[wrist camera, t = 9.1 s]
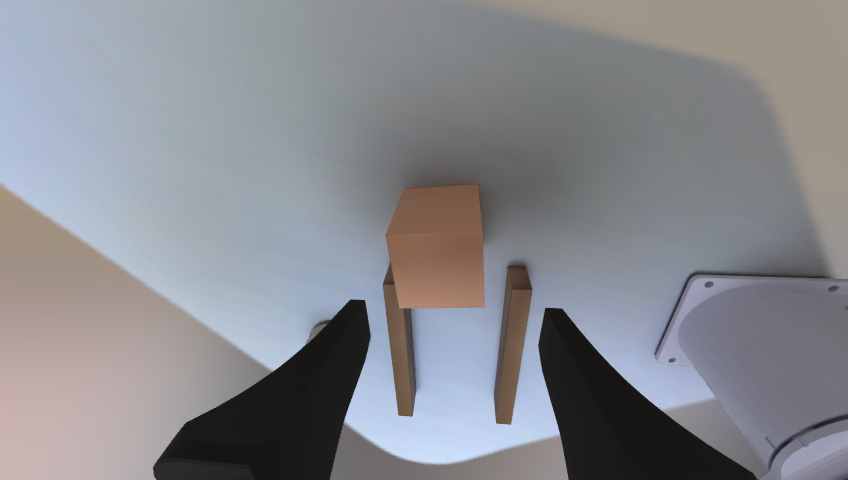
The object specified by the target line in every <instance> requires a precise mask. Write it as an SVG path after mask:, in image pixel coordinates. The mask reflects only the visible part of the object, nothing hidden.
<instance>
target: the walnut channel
mask: <svg viewBox="0 0 848 480" xmlns="http://www.w3.org/2000/svg"><path fill="white" fill-rule="evenodd" d="M383 290H384V299H385V307H386V315H387V324H388V332H389V340H390V348H391V357H392V365H393V373H394V382H395V390H396V398H397V406H398V415H399V416H411V417H412V416H413V409H414V402H415V395H416V381H415V367H414V354H413V340H412V326H411V313H410V308H399V304H398V298H397V293H396V288H395V282H394V277H393V272H392V266H391V263H390V265H389V268H388V271H387V274H386V277H385V280H384V282H383ZM531 296H532V287H531V283H530V280H529V276H528V273H527V269H526V267H508V271H507V280H506V290H505V299H504V308H503V317H502V326H501V336H500V345H499V354H498V363H497V372H496V382H495V391H494V403H495V416H496V423H498V424H510V425H511V421H512V415H513V408H514V402H515V396H516V390H517V383H518V377H519V371H520V365H521V358H522V352H523V346H524V339H525V333H526V327H527V321H528V314H529V308H530V302H531Z"/></svg>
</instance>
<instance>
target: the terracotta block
mask: <svg viewBox="0 0 848 480" xmlns="http://www.w3.org/2000/svg"><path fill="white" fill-rule="evenodd" d="M386 240H387V245H388V250H389V256H390V261H391V266H392V272H393V277H394V282H395V288H396V293H397V298H398V304H399V308H467V307H484V270H483V231H482V220H481V209H480V199H479V188H478V184H469V185H453V186H438V187H422V188H406V189H405V190H404V192H403V195H402V197H401V200H400V202H399V204H398V207H397V209H396V212H395V214H394V216H393V219H392V221H391V223H390V226H389V228H388V231H387V233H386Z"/></svg>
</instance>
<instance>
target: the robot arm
mask: <svg viewBox="0 0 848 480" xmlns="http://www.w3.org/2000/svg"><path fill="white" fill-rule="evenodd" d="M707 282H709V283H707ZM705 283H707V284H705ZM370 337H371V335H370V328H369V322H368V316H367V309H366V303H365V300H350V301H349V302H348V303H347V304H346V305H345V306H344V307H343V308H342V309H341V310H340V311H339V312H338V313H337V314H336V315H335V316H334V318H333V319H332V320H331V321H330V322H329V323H328V324H327V325H326V326H325V327H324V328H323V329H322V330H321V331H320V332H319V333H318V334H317V335H316V336H315V337H314V338H313V339H312V340H310V341H309V342H308V343H307V344H306V345H305V346H304V347H303V348H302V349H301V350H300V351H298V352H297V353H296V354H295V355H294V356H293V357H291V358H290V359H289V360H288V361H286V362H285V363H284V364H283V365H281V366H280V367H279V368H277V369H276V370H275V371H273V372H272V373H271V374H269V375H268V376H266V377H265V378H263V379H262V380H260V381H259V382H257V383H256V384H255V385H253V386H252V387H250V388H248V389H247V390H245V391H244V392H242V393H240V394H239V395H237V396H235V397H234V398H232V399H230V400H228V401H227V402H225V403H223V404H221V405H220V406H218V407H216V408H214V409H212V410H210V411H208V412H206V413H204V414H202V415H200V416H198V417H196V418H194V419H193V420H191V421H188V422H186V423H185V424H184V426H183V427H182V428H181V429H180V431H179V432H178V433H177V435H176V436H175V437H174V439H173V440H172V441H171V443H170V444H169V446H168V447H167V448H166V450H165V451H164V452H163V454H162V455H161V457H160V458H159V459H158V460H157V462H156V463H155V465H154V467H153V471H154V477H155V478H156V480H330V476H331V471H332V467H333V463H334V459H335V454H336V450H337V446H338V442H339V438H340V434H341V430H342V426H343V423H344V419H345V416H346V413H347V410H348V407H349V404H350V401H351V399H352V396H353V393H354V390H355V388H356V385H357V382H358V379H359V377H360V374H361V371H362V368H363V365H364V362H365V359H366V355H367V351H368V347H369V342H370ZM538 347H539V354H540V360H541V366H542V371H543V375H544V379H545V382H546V386H547V389H548V393H549V396H550V400H551V403H552V407H553V410H554V414H555V417H556V421H557V424H558V428H559V432H560V436H561V440H562V445H563V450H564V456H565V461H566V466H567V473H568V478H569V480H758V479H757V478H756V477H755V476H754V474H753V473H752V472H750V471H749V470H747V469H746V468H744V467H742V466H741V465H739V464H738V463H736V462H734V461H733V460H731V459H730V458H728V457H726V456H725V455H723V454H722V453H720V452H719V451H717V450H715V449H714V448H712V447H711V446H709V445H707V444H706V443H705V442H703V441H702V440H701V439H699V438H698V437H696V436H695V435H694V434H692V433H691V432H689V431H688V430H686V429H685V428H684V427H682V426H681V425H680V424H678V423H677V422H675V421H674V420H673V419H671V418H670V417H669V416H668V415H666V414H665V413H664V412H663V411H661V410H660V409H659V408H658V407H656V406H655V405H654V404H652V403H651V402H650V401H649V400H648V399H646V398H645V397H644V396H643V395H642V394H641V393H640V392H638V391H637V390H636V389H635V388H634V387H633V386H632V385H631V384H629V383H628V382H627V381H626V380H625V379H624V378H623V377H622V376H621V375H620V374H619V373H618V372H617V371H616V370H615V369H614V368H613V367H612V366H611V365H610V364H609V363H608V362H607V361H606V360H605V359H604V358H603V357H602V356H601V354H600V353H599V352H598V351H597V350H596V349H595V348H594V347H593V345H592V344H591V343H590V342H589V341H588V340H587V339H586V337H585V336H584V335H583V334H582V333H581V331H580V330H579V329H578V328H577V327H576V325H575V324H574V323H573V322H572V320H571V319H570V318H569V317H568V315H567V314H566V313H565V312H564V310H563V309H560V308H545V313H544V318H543V323H542V328H541V334H540V339H539V344H538ZM655 358H656V360H657V361H658V362H659V363H660V364H671V365H688V366H694V367H695V369H696V370H697V371H698V373H699V374H700V376H701V377H702V378H703V380H704V381H705V383H706V384H707V385H708V387H709V388H710V390H711V391H712V392H713V394H714V395H715V397H716V398H717V399H718V401H719V402H720V404H721V405H722V406H723V408H724V409H725V411H726V412H727V413H728V415H729V416H730V418H731V419H732V420H733V422H734V423H735V425H736V426H737V427H738V429H739V430H740V432H741V433H742V434H743V436H744V437H745V439H746V440H747V441H748V443H749V444H750V446H751V447H752V448H753V450H754V451H755V453H756V454H757V455H758V457H759V458H760V460H761V461H762V462H763V464H764V465H765V467H766V468H767V470H768V471H769V473H768V474H767V475H766V476H765V477H763V478H762V479H760V480H848V279H822V278H790V277H758V276H726V275H696V276H693V277H692V278H691V279H690V280H689V282H688V284H687V286H686V289H685V291H684V293H683V295H682V298H681V300H680V302H679V304H678V307H677V309H676V311H675V313H674V316H673V318H672V320H671V322H670V325H669V327H668V329H667V331H666V334H665V336H664V338H663V340H662V343H661V345H660V347H659V349H658V351H657V354H656V357H655Z"/></svg>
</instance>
